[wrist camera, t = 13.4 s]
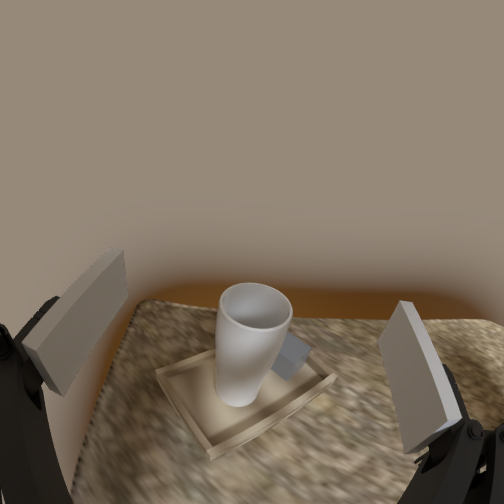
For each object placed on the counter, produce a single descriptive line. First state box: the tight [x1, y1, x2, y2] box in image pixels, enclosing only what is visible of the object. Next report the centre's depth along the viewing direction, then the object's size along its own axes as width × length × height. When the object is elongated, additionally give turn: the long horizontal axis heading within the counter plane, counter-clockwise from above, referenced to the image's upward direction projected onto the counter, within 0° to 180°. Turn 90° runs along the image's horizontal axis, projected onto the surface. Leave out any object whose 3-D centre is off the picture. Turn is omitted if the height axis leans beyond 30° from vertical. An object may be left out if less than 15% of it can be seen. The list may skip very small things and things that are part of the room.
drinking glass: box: [215, 283, 293, 407], centre depth 28 cm, size 7×7×15 cm
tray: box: [155, 332, 337, 461], centre depth 33 cm, size 20×13×2 cm, turn 127°
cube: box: [271, 332, 311, 381], centre depth 36 cm, size 4×4×4 cm
